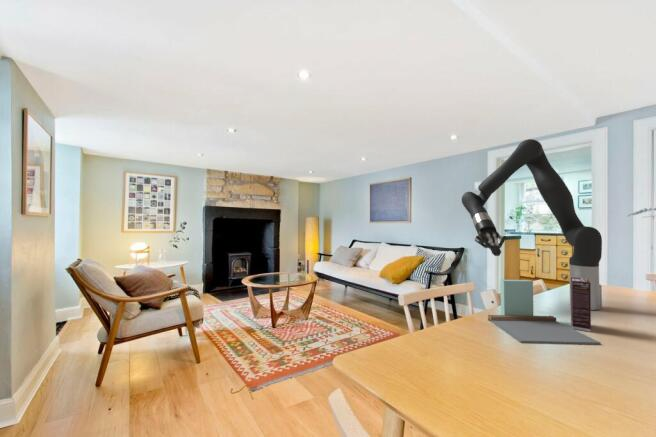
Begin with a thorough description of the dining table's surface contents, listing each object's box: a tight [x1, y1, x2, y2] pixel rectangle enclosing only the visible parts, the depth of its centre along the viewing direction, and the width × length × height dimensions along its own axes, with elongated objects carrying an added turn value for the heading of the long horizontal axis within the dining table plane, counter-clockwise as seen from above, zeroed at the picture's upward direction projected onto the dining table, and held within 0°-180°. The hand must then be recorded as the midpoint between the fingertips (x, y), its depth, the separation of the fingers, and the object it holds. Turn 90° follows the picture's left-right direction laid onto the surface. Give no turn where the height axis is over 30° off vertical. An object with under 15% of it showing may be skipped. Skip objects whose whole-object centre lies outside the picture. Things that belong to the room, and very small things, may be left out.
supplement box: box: [570, 277, 592, 333], centre depth 98 cm, size 9×5×16 cm, turn 143°
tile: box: [499, 279, 534, 316], centre depth 106 cm, size 2×10×14 cm, turn 86°
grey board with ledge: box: [487, 314, 602, 346], centre depth 94 cm, size 20×22×2 cm
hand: (497, 254), depth 120 cm, fingers closed
